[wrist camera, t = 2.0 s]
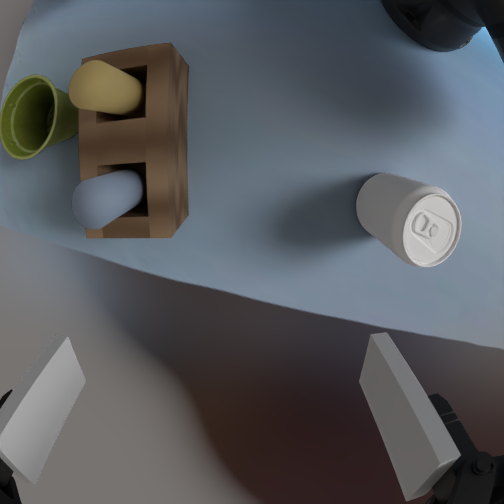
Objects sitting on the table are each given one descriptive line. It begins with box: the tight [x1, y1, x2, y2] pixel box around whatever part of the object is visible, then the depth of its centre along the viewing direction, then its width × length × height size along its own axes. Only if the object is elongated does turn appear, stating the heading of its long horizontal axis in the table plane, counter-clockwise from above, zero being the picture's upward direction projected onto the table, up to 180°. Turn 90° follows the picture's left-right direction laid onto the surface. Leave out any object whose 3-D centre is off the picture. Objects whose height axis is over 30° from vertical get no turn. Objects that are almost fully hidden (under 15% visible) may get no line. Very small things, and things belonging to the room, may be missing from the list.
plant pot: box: [0, 75, 79, 160], centre depth 26 cm, size 9×9×9 cm
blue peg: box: [71, 168, 147, 229], centre depth 23 cm, size 4×4×8 cm
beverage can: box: [356, 173, 461, 267], centre depth 30 cm, size 8×8×12 cm
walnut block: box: [79, 43, 189, 238], centre depth 28 cm, size 18×9×9 cm, turn 179°
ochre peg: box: [69, 60, 146, 116], centre depth 20 cm, size 4×4×8 cm
